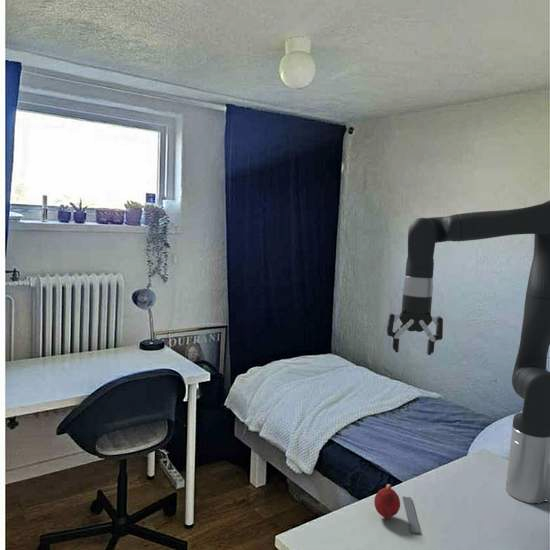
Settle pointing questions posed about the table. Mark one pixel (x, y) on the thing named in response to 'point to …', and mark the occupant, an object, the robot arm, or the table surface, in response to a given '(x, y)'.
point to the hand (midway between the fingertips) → (412, 353)
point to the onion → (387, 502)
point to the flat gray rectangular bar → (411, 515)
